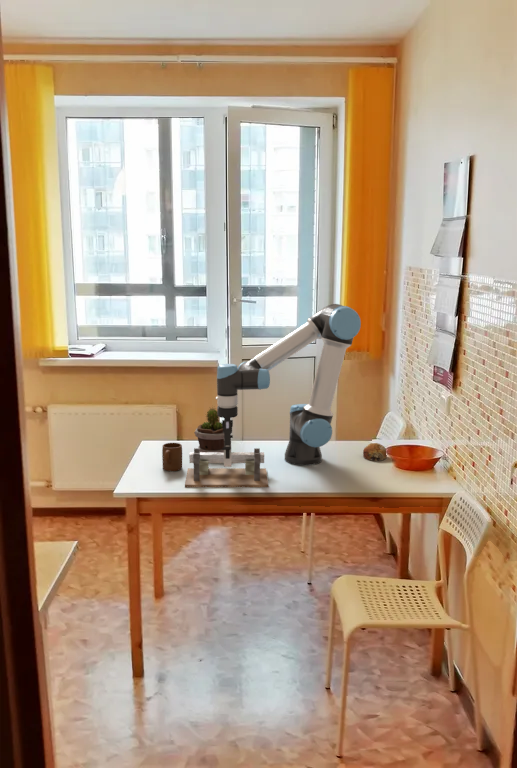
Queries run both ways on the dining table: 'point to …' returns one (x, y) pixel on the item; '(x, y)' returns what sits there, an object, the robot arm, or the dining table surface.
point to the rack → (226, 474)
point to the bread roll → (374, 452)
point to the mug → (172, 456)
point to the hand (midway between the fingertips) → (227, 460)
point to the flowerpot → (210, 433)
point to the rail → (219, 457)
